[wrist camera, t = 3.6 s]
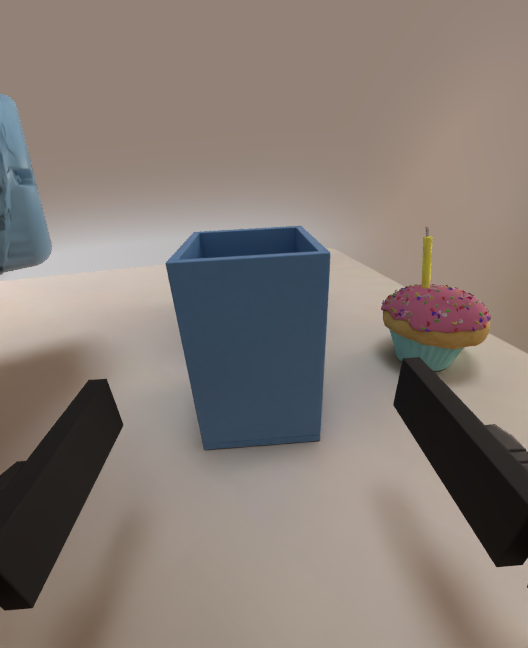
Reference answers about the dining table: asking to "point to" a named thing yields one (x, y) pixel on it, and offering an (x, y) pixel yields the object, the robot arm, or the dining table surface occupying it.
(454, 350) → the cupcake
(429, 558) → the dining table surface
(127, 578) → the dining table surface
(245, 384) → the lone bin
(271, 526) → the dining table surface
